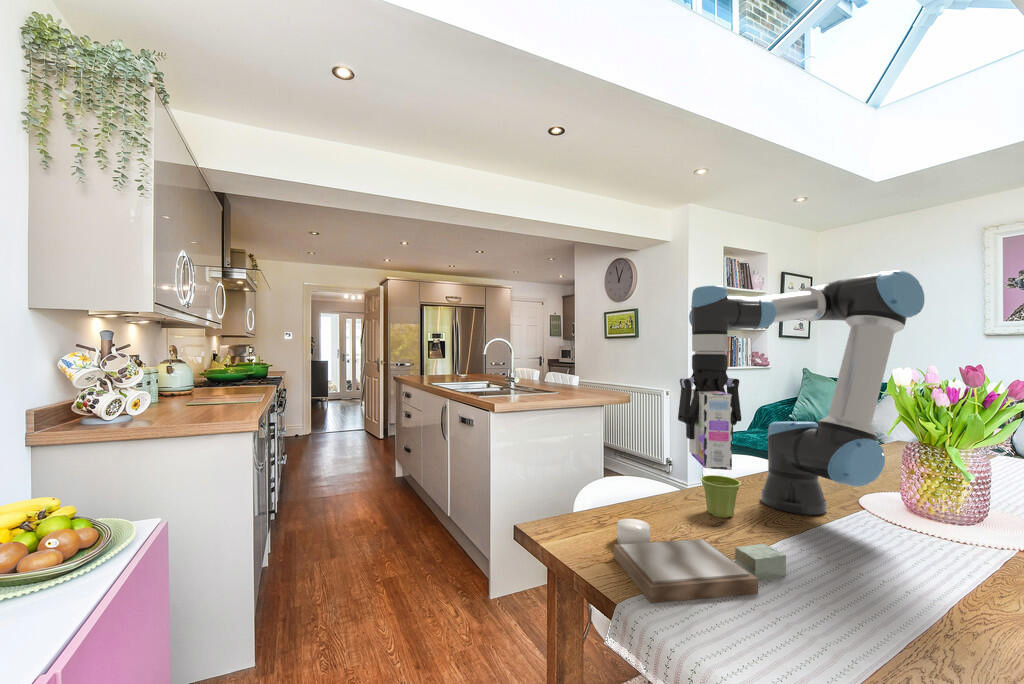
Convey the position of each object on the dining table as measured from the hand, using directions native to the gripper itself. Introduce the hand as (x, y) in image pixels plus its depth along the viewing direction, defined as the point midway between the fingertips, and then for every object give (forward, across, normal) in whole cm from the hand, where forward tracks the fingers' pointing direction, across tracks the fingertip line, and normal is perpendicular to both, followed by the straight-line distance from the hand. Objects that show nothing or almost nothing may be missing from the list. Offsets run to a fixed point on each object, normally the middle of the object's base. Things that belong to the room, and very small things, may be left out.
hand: (709, 452), depth 99 cm
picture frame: (+19, +16, +15) cm, 29 cm away
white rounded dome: (+19, +19, +1) cm, 27 cm away
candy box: (+2, 0, 0) cm, 2 cm away
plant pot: (+19, -11, -12) cm, 25 cm away
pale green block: (+19, 0, +16) cm, 25 cm away
